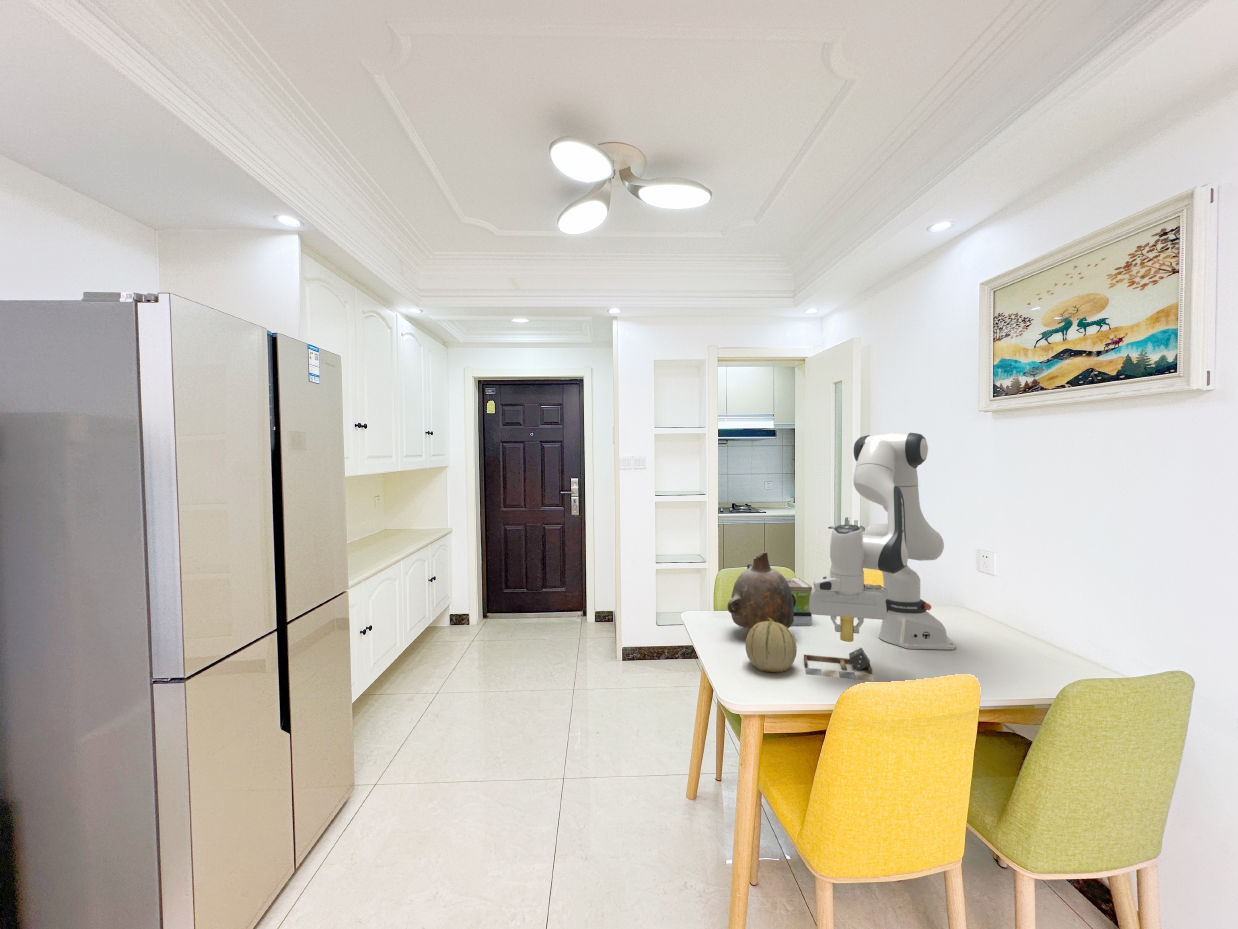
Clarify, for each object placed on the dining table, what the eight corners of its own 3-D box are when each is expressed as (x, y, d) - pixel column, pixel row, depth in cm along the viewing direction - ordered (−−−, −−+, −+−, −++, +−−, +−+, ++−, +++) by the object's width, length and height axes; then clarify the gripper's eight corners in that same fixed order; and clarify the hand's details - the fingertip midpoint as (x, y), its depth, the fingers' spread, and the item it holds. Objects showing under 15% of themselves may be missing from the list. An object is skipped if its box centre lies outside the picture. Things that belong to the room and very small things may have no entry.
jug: (753, 621, 205) (753, 543, 204) (807, 634, 190) (806, 549, 189) (716, 637, 188) (715, 551, 187) (771, 652, 173) (770, 559, 172)
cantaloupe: (760, 684, 149) (760, 630, 149) (736, 664, 163) (736, 615, 163) (807, 678, 152) (807, 625, 152) (780, 659, 167) (780, 611, 166)
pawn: (854, 642, 149) (854, 611, 149) (839, 641, 150) (839, 609, 150) (854, 638, 152) (854, 607, 152) (839, 636, 154) (839, 606, 154)
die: (857, 665, 159) (870, 659, 157) (857, 670, 155) (870, 664, 153) (848, 653, 159) (861, 647, 158) (849, 658, 156) (862, 651, 154)
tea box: (812, 626, 199) (812, 586, 199) (785, 626, 199) (785, 586, 199) (800, 614, 214) (799, 577, 214) (774, 614, 214) (774, 577, 214)
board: (868, 668, 159) (868, 660, 159) (875, 685, 147) (874, 676, 147) (803, 662, 164) (803, 654, 164) (805, 678, 152) (805, 669, 152)
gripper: (885, 582, 151) (885, 631, 151) (808, 578, 157) (808, 625, 157) (889, 588, 145) (889, 639, 145) (809, 583, 151) (809, 632, 151)
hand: (846, 632), depth 151 cm, fingers closed on pawn, 3 cm apart
